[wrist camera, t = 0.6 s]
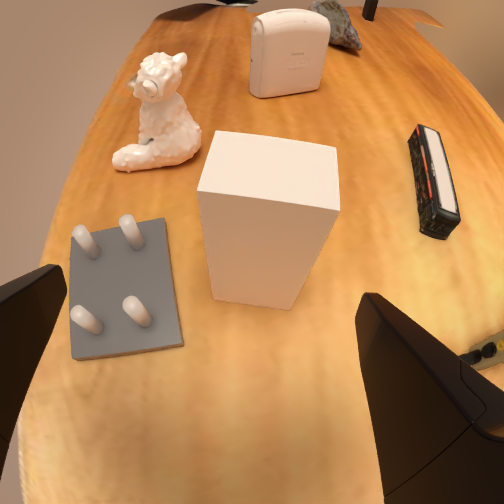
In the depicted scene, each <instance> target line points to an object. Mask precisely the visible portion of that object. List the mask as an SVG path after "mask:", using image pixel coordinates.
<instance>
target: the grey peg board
mask: <svg viewBox="0 0 504 504" xmlns="http://www.w3.org/2000/svg"><path fill="white" fill-rule="evenodd" d="M119 225H120V227H115V228H110V229H106V230H101V231H97V232H92V233H89V232H88V230H87V229H86V227H85V226H84V225H78V226H76V227H75V228H74V230H73V232H72V234H73V237H72V238H71V253H70V279H69V312H70V338H71V353H72V359H74V360H77V361H81V360H90V359H99V358H107V357H115V356H122V355H129V354H136V353H143V352H149V351H156V350H162V349H168V348H174V347H180V346H184V342H183V337H182V331H181V326H180V320H179V314H178V308H177V302H176V295H175V289H174V282H173V275H172V268H171V260H170V253H169V244H168V236H167V227H166V222H165V219H164V218H159V219H154V220H149V221H144V222H139V223H136V222H135V220H134V218H133V216H132V215H130V214H125V215H123V216H122V217H121V218H120V219H119Z"/></svg>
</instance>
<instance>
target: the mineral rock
mask: <svg viewBox="0 0 504 504" xmlns="http://www.w3.org/2000/svg"><path fill="white" fill-rule="evenodd" d="M308 11H312V12H316V13H318V14H320V15H322V16H324V17H326V18H327V19H328V21H329V23H330V37H329V42H330V43H332V44H335V45H342V46H344V47H346V48H349V47H350V48H354V49H356V50H358V51H360V50H361V49H362V46H361V43H360V41H359V37H358V33H357V31H356V30H355V28H354V27H353V26H352V25H351V20H350V18H349V14H348V12H347V11H346V10H345V8H344V7H343V6H342V5H341V4H339V3H338V1H337V0H316V1H314V2H313V3H312V4H311V6H310V7H309V8H308Z"/></svg>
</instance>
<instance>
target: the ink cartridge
mask: <svg viewBox="0 0 504 504" xmlns="http://www.w3.org/2000/svg"><path fill="white" fill-rule="evenodd" d="M377 4H378V0H366V1H365V5H364V9H363V13H362V16H363V17H364V18H365V19H366V20H369V21H373V19H374V15H375V11H376V8H377Z"/></svg>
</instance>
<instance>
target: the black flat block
mask: <svg viewBox="0 0 504 504" xmlns="http://www.w3.org/2000/svg"><path fill="white" fill-rule="evenodd" d="M408 143H409V149H410V154H411V155H410V156H411V162H412V166H413V171H414V178H415V179H414V180H415V187H416V195H417V203H418V213H419V218H420V229H419V232H421V233H422V234H425V235H427V236H429V237H432V238H435V239H440V240H446V239H447V237H448V236H449V234H450V233H451V232H452V231H453V230H454V228H455V227H456V226H457V225H458V224H459V223H460V221H461V219H460V213H459V208H458V203H457V198H456V193H455V189H454V185H453V180H452V176H451V172H450V168H449V164H448V161H447V157H446V154H445V150H444V147H443V143H442V140H441V137H440V134H439V132H437V131H435V130H433V129H431V128H429V127H426V126H423V125H420V124H417V126H416V128H415V130H414V132H413V133H412V135H411V137H410V139H409V140H408Z"/></svg>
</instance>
